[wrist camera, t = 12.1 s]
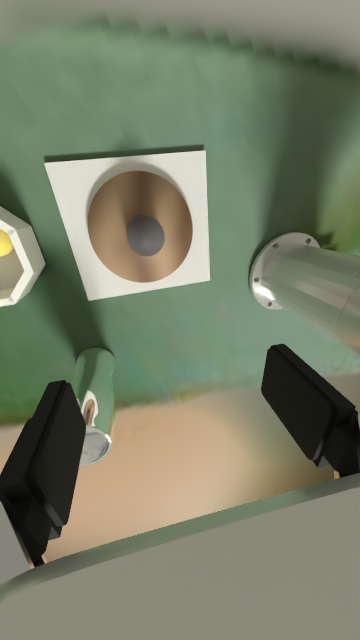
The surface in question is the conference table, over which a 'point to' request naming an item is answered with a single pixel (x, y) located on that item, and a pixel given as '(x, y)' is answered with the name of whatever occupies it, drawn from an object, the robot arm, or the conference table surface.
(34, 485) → the robot arm
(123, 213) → the lid
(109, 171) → the mat
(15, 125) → the conference table surface
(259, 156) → the conference table surface
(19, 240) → the bowl
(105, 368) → the beer glass
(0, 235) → the lemon
